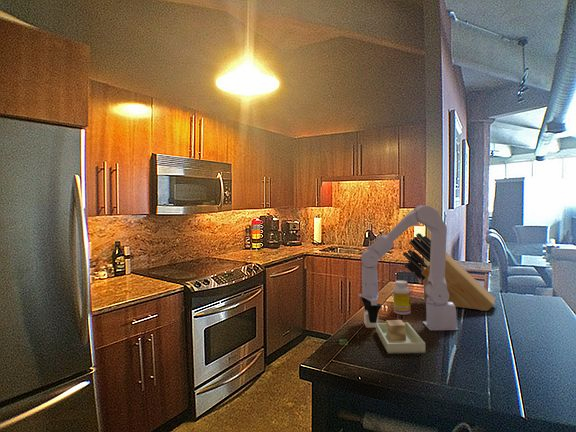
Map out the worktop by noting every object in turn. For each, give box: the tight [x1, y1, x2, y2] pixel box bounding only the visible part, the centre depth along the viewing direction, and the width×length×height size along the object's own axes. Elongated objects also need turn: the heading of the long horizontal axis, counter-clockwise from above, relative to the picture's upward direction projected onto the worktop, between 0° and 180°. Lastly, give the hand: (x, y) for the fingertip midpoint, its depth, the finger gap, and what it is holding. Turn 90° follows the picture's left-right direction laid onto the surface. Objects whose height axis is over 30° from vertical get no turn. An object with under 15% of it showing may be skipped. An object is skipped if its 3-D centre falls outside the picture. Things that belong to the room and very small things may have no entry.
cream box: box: [363, 309, 380, 328], centre depth 124 cm, size 4×4×5 cm
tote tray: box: [375, 322, 427, 355], centre depth 109 cm, size 11×17×3 cm, turn 177°
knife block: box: [402, 233, 496, 312], centre depth 145 cm, size 11×35×31 cm, turn 54°
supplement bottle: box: [392, 279, 412, 316], centre depth 136 cm, size 7×7×13 cm
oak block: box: [385, 319, 406, 341], centre depth 110 cm, size 5×5×5 cm
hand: (371, 318), depth 124 cm, fingers open, 7 cm apart
